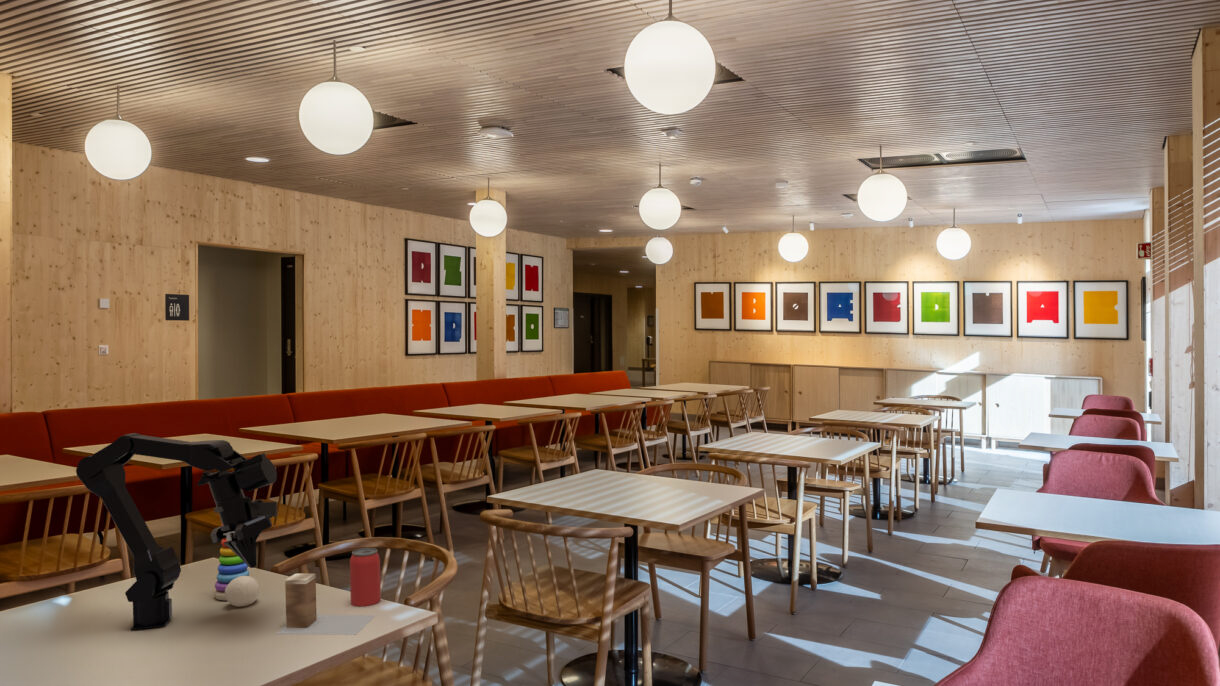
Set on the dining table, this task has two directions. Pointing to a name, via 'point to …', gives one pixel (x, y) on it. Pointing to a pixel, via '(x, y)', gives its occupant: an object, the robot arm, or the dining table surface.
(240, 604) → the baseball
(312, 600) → the walnut block
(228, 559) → the stacking toy
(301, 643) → the dining table surface
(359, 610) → the dining table surface
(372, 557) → the beer can
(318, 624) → the rubber mat
